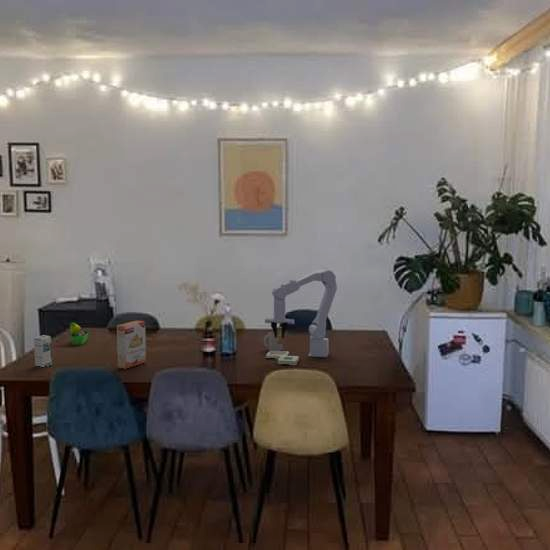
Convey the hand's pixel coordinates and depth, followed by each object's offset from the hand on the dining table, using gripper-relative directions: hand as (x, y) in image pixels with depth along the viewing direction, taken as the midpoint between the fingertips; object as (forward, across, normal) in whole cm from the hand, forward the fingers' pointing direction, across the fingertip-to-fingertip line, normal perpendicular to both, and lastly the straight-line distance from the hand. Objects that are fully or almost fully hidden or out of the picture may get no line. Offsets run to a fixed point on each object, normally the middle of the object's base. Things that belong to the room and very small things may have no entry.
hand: (279, 337), depth 342 cm
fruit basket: (+11, +114, -14) cm, 115 cm away
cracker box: (+11, +68, +25) cm, 73 cm away
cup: (+11, +6, -15) cm, 19 cm away
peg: (+3, 0, 0) cm, 3 cm away
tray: (+10, +1, -2) cm, 11 cm away
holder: (+10, -6, +7) cm, 14 cm away
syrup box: (+11, +110, +33) cm, 115 cm away
